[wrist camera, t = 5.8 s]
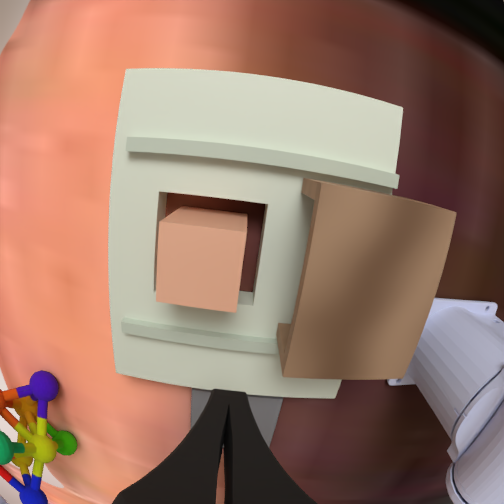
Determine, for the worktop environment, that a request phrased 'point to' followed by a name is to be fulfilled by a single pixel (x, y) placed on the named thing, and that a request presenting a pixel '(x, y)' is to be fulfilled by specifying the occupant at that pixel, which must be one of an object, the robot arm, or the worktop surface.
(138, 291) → the puzzle board
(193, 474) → the robot arm
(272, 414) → the slate pad
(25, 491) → the molecular model
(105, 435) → the worktop surface
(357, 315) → the walnut cover
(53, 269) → the worktop surface
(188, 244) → the terracotta block
